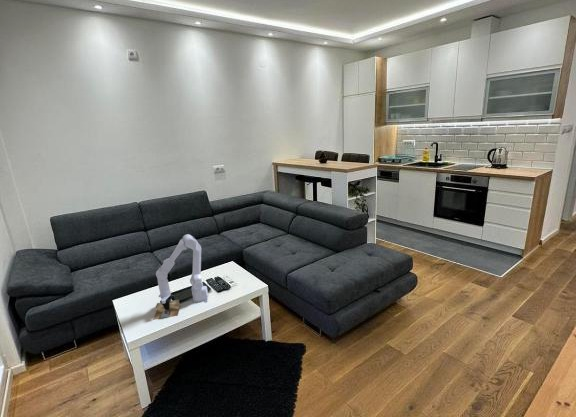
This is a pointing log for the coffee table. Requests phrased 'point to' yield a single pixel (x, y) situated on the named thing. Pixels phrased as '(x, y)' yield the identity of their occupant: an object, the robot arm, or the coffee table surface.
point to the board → (173, 313)
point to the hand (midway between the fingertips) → (168, 307)
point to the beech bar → (172, 304)
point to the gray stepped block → (165, 314)
